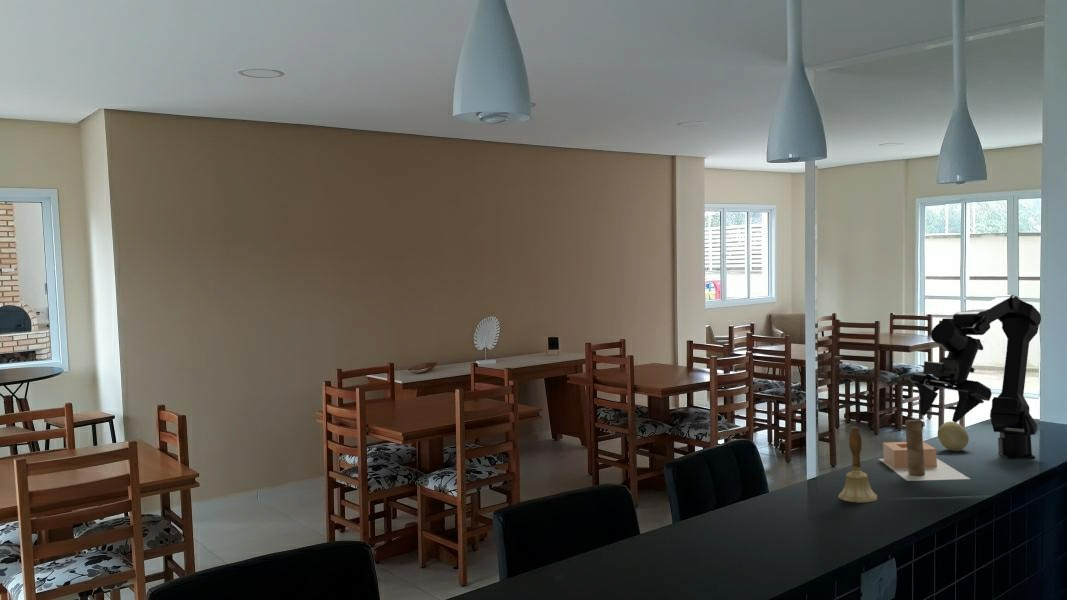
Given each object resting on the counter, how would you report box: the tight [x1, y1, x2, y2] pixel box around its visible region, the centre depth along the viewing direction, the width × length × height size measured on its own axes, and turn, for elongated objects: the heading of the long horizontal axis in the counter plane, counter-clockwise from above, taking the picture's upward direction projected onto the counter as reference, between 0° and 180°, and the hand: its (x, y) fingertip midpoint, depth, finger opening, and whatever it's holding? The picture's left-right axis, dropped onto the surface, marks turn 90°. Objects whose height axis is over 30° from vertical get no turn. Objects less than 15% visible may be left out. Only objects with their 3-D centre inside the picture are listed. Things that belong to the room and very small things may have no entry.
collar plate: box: [878, 441, 971, 482], centre depth 199 cm, size 14×24×5 cm, turn 171°
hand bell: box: [838, 426, 879, 504], centre depth 178 cm, size 8×8×16 cm
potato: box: [937, 421, 970, 452], centre depth 217 cm, size 8×8×8 cm
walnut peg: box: [904, 419, 925, 476], centre depth 193 cm, size 4×4×13 cm
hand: (937, 418), depth 192 cm, fingers open, 9 cm apart
